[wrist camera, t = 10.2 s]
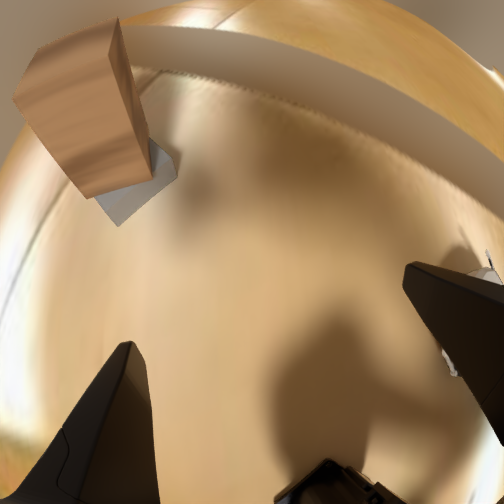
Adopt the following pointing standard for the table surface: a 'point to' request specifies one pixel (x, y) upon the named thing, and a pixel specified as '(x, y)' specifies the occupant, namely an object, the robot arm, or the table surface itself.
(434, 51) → the table surface
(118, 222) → the base slab
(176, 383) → the table surface
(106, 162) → the walnut block
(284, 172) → the table surface
